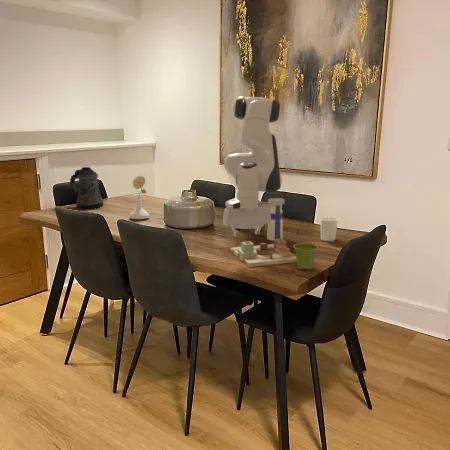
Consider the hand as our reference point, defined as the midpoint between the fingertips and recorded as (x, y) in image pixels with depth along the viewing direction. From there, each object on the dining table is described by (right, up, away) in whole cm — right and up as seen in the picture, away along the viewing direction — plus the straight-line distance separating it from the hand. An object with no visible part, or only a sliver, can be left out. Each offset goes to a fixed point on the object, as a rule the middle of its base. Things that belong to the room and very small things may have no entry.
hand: (246, 234), depth 190 cm
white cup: (+41, -3, +30) cm, 51 cm away
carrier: (+7, -9, +4) cm, 12 cm away
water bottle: (+15, -3, +31) cm, 35 cm away
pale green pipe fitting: (0, -8, +2) cm, 8 cm away
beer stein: (-96, +15, +99) cm, 139 cm away
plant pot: (+23, -13, -9) cm, 28 cm away
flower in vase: (-57, +7, +69) cm, 90 cm away
